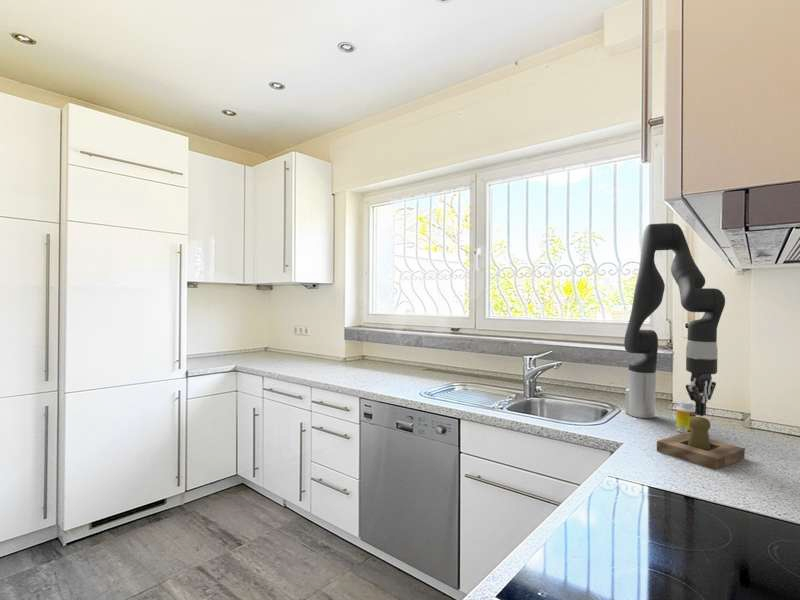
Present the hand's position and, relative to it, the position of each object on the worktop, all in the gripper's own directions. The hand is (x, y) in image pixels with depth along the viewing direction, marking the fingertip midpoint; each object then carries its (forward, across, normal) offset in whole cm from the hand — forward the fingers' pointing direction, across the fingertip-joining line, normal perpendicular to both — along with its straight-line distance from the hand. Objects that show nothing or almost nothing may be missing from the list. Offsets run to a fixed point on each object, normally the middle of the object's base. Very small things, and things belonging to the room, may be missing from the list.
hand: (700, 415), depth 126 cm
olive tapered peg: (+12, 0, 0) cm, 12 cm away
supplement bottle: (+12, -19, -13) cm, 26 cm away
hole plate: (+12, 0, 0) cm, 12 cm away
